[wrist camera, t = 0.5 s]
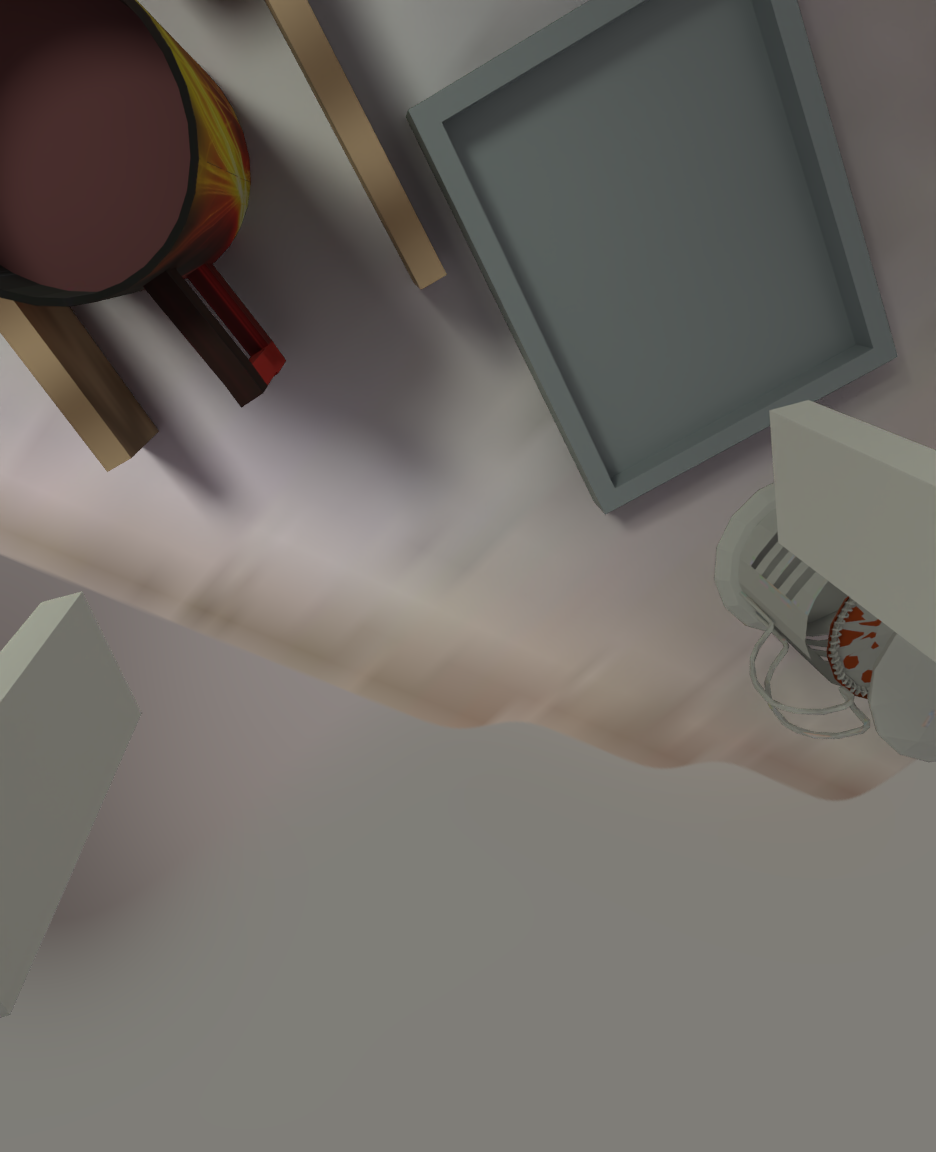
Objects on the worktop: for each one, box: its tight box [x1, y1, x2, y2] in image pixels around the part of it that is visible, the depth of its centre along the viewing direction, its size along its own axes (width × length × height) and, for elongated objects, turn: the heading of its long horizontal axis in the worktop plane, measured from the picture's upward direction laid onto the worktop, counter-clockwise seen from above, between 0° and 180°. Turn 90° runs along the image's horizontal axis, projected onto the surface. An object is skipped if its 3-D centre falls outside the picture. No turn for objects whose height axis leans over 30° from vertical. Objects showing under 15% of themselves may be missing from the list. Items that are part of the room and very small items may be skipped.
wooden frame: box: [0, 0, 447, 472], centre depth 32 cm, size 17×16×5 cm
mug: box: [0, 0, 286, 407], centre depth 29 cm, size 10×14×12 cm
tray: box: [406, 0, 898, 514], centre depth 37 cm, size 20×16×2 cm
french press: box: [714, 483, 936, 762], centre depth 34 cm, size 10×12×25 cm
